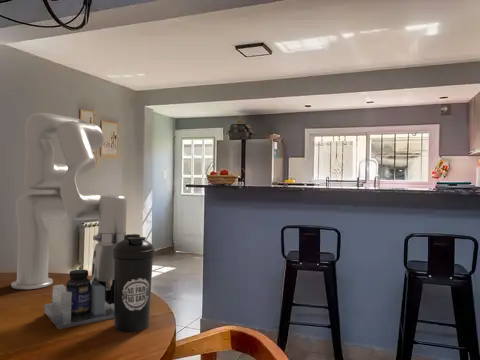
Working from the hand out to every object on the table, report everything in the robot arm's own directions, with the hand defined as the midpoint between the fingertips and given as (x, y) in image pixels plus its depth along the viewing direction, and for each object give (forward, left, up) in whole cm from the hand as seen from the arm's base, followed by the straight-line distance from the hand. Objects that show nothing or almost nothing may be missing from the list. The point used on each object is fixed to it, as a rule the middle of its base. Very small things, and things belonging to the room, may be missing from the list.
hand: (110, 302), depth 109 cm
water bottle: (+15, 0, -2) cm, 15 cm away
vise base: (0, -7, -2) cm, 7 cm away
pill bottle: (0, -9, -1) cm, 9 cm away
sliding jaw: (0, -4, -1) cm, 5 cm away
